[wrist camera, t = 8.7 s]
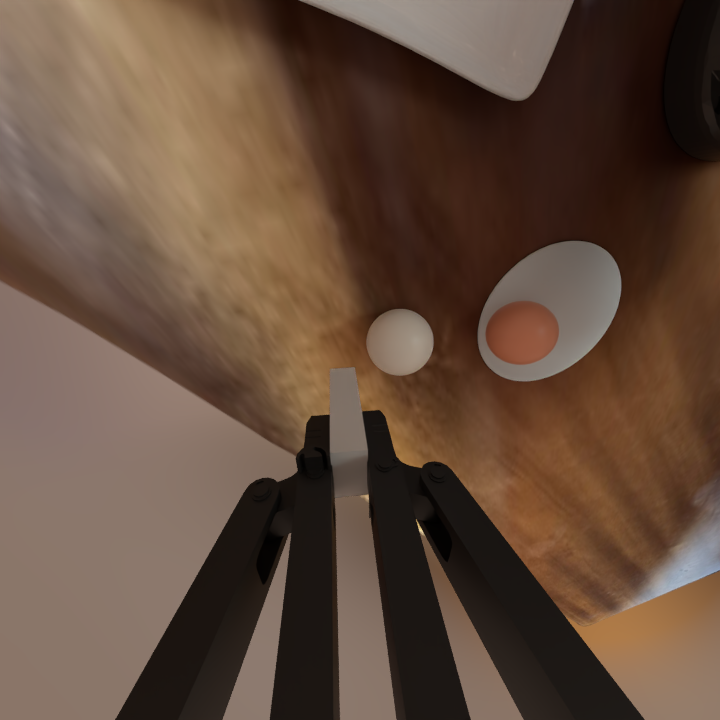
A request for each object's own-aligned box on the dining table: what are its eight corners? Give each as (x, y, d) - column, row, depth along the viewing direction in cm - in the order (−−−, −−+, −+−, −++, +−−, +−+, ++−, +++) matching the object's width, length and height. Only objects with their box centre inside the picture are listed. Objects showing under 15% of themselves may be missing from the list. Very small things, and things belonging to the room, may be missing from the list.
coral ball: (477, 299, 24) (519, 290, 26) (467, 356, 27) (506, 343, 29) (540, 317, 20) (584, 305, 22) (520, 383, 22) (561, 366, 24)
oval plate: (645, 237, 24) (647, 238, 24) (587, 374, 31) (588, 375, 31) (493, 243, 23) (495, 243, 23) (466, 385, 30) (467, 386, 30)
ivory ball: (357, 319, 20) (375, 298, 25) (359, 383, 23) (374, 353, 28) (436, 326, 19) (438, 302, 24) (427, 393, 22) (431, 360, 26)
